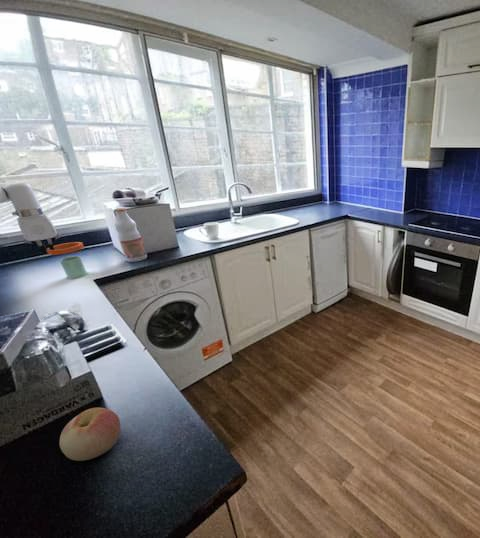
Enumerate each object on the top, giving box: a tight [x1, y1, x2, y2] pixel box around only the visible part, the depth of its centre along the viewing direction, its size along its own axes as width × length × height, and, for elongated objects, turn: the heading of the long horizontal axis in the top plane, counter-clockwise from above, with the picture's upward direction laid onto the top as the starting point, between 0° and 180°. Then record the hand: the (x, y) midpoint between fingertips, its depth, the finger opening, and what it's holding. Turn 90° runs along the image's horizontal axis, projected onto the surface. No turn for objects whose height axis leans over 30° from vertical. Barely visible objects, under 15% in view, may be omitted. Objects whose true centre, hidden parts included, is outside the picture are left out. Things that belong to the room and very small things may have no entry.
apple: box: [59, 406, 121, 462], centre depth 58 cm, size 9×9×8 cm
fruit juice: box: [113, 207, 148, 263], centre depth 156 cm, size 9×9×28 cm
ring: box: [46, 241, 85, 256], centre depth 137 cm, size 12×12×2 cm
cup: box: [59, 255, 88, 280], centre depth 140 cm, size 7×7×9 cm
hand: (49, 252), depth 133 cm, fingers closed on ring, 1 cm apart
